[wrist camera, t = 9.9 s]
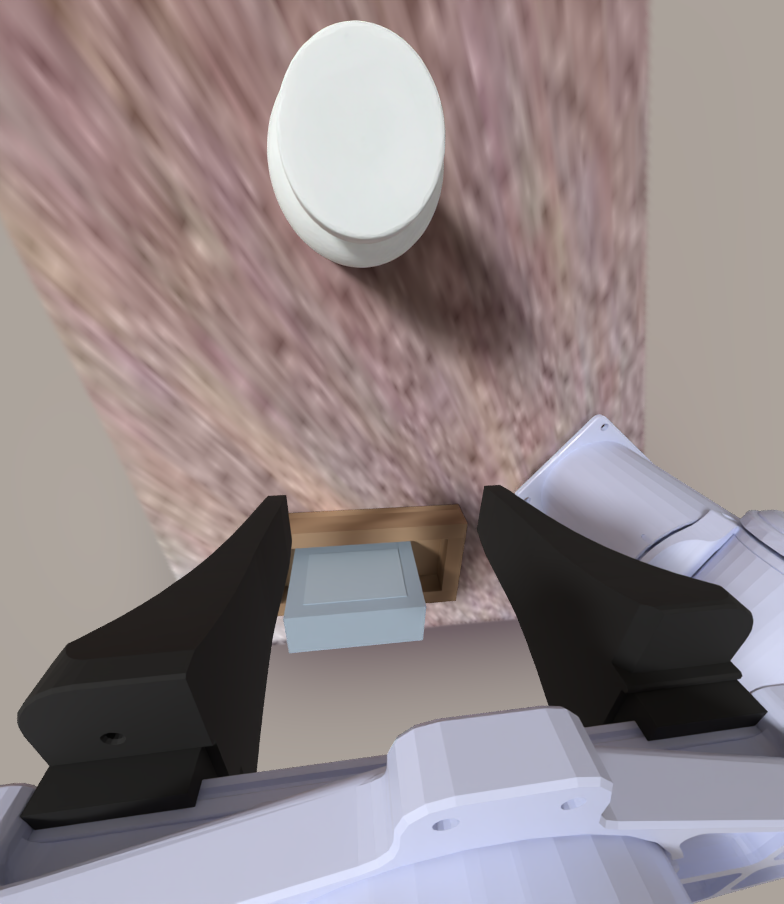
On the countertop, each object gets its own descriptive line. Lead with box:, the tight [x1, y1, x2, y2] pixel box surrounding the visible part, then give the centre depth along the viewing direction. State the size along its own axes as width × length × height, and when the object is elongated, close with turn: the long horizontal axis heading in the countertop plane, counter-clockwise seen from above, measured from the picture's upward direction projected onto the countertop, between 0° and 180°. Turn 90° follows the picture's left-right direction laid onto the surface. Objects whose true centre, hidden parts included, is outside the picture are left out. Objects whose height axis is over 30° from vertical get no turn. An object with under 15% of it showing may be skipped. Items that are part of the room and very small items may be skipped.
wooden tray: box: [278, 504, 467, 616], centre depth 26 cm, size 14×7×2 cm, turn 89°
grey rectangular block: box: [283, 541, 426, 653], centre depth 23 cm, size 8×3×6 cm, turn 89°
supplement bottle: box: [267, 21, 445, 268], centre depth 12 cm, size 5×5×10 cm
